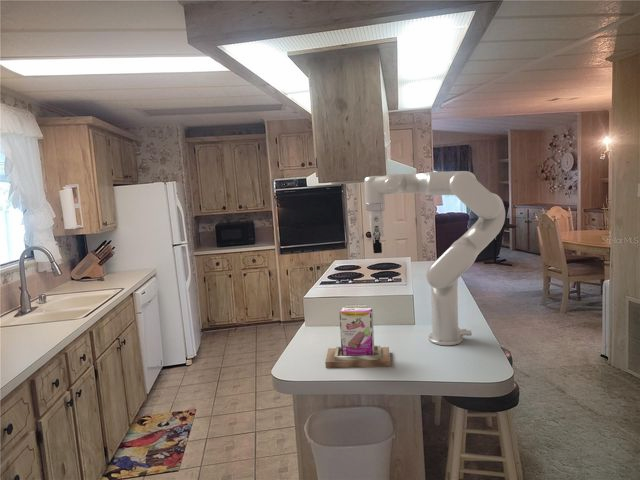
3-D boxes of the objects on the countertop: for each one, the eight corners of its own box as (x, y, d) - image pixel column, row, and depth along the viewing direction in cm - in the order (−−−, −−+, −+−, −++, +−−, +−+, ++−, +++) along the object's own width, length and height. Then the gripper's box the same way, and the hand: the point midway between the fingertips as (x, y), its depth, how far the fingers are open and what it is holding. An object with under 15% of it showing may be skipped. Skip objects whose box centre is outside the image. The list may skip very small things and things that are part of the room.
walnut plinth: (388, 352, 157) (388, 343, 156) (390, 366, 145) (390, 357, 145) (328, 353, 159) (328, 345, 159) (325, 367, 147) (325, 358, 147)
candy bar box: (341, 357, 150) (338, 311, 148) (343, 351, 155) (341, 307, 153) (373, 357, 148) (371, 311, 146) (375, 352, 153) (372, 307, 151)
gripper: (386, 208, 160) (388, 254, 162) (384, 205, 177) (386, 247, 179) (365, 210, 161) (368, 255, 163) (365, 207, 178) (367, 248, 180)
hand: (377, 250), depth 171 cm, fingers open, 9 cm apart
